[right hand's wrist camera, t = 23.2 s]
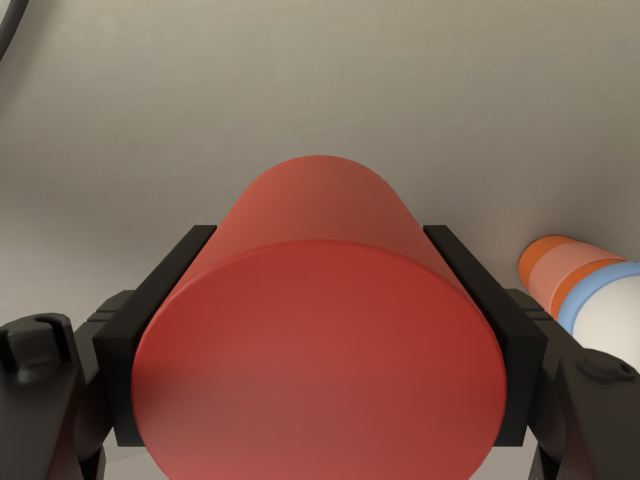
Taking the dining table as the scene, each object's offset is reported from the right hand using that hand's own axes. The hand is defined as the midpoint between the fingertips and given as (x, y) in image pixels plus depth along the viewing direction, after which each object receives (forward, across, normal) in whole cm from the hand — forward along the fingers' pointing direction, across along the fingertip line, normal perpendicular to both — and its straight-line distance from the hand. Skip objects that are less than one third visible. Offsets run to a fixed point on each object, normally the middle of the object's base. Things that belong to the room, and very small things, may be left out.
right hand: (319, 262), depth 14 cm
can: (+1, 0, 0) cm, 1 cm away
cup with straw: (+23, +22, -10) cm, 34 cm away
